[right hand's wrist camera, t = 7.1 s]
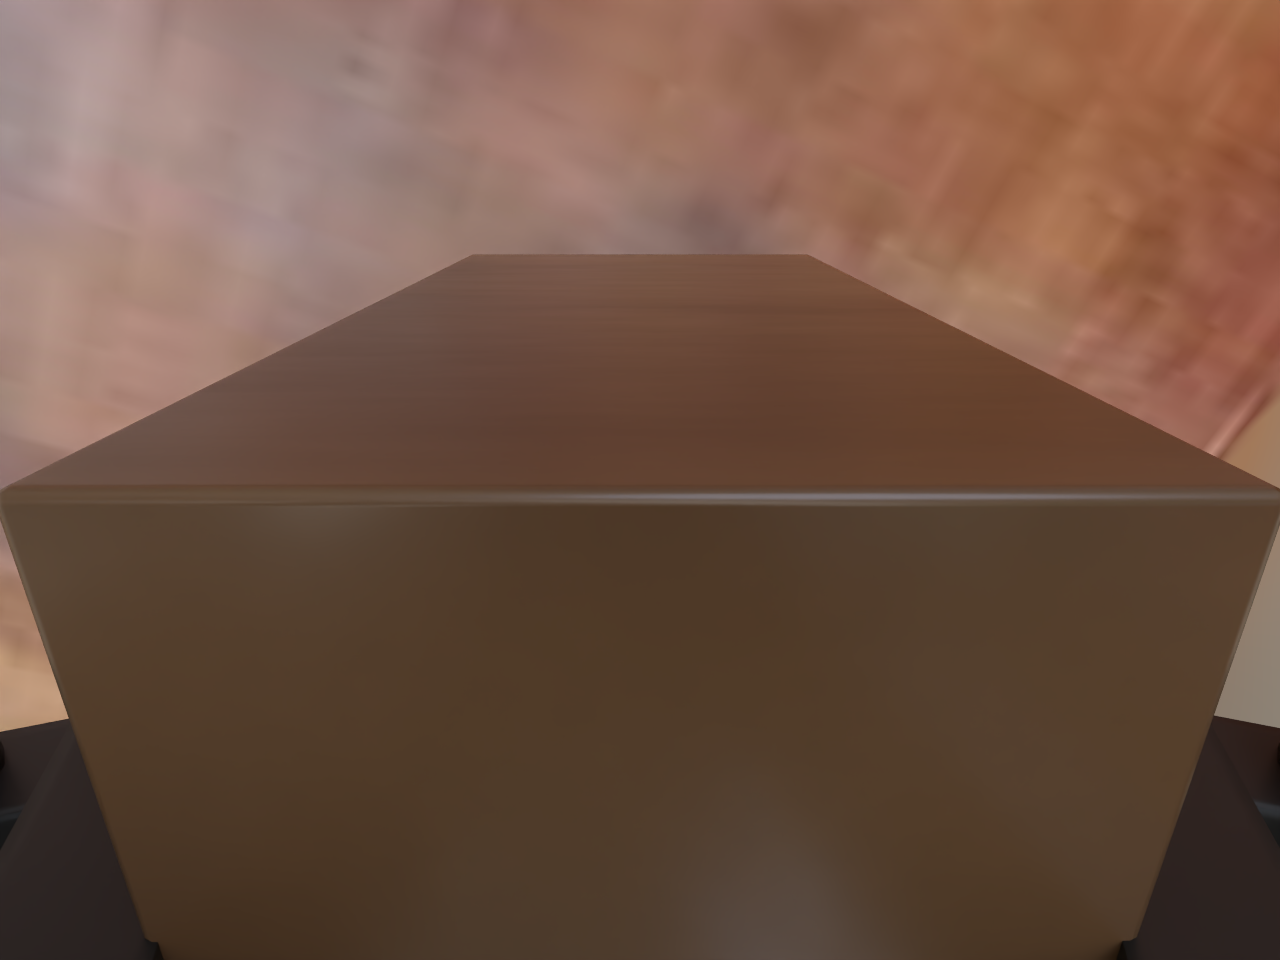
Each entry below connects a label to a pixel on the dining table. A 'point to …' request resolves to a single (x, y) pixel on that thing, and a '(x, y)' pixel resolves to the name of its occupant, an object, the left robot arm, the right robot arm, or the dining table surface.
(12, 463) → the dining table surface
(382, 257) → the dining table surface
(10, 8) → the dining table surface
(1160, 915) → the right robot arm
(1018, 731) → the box
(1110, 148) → the dining table surface
